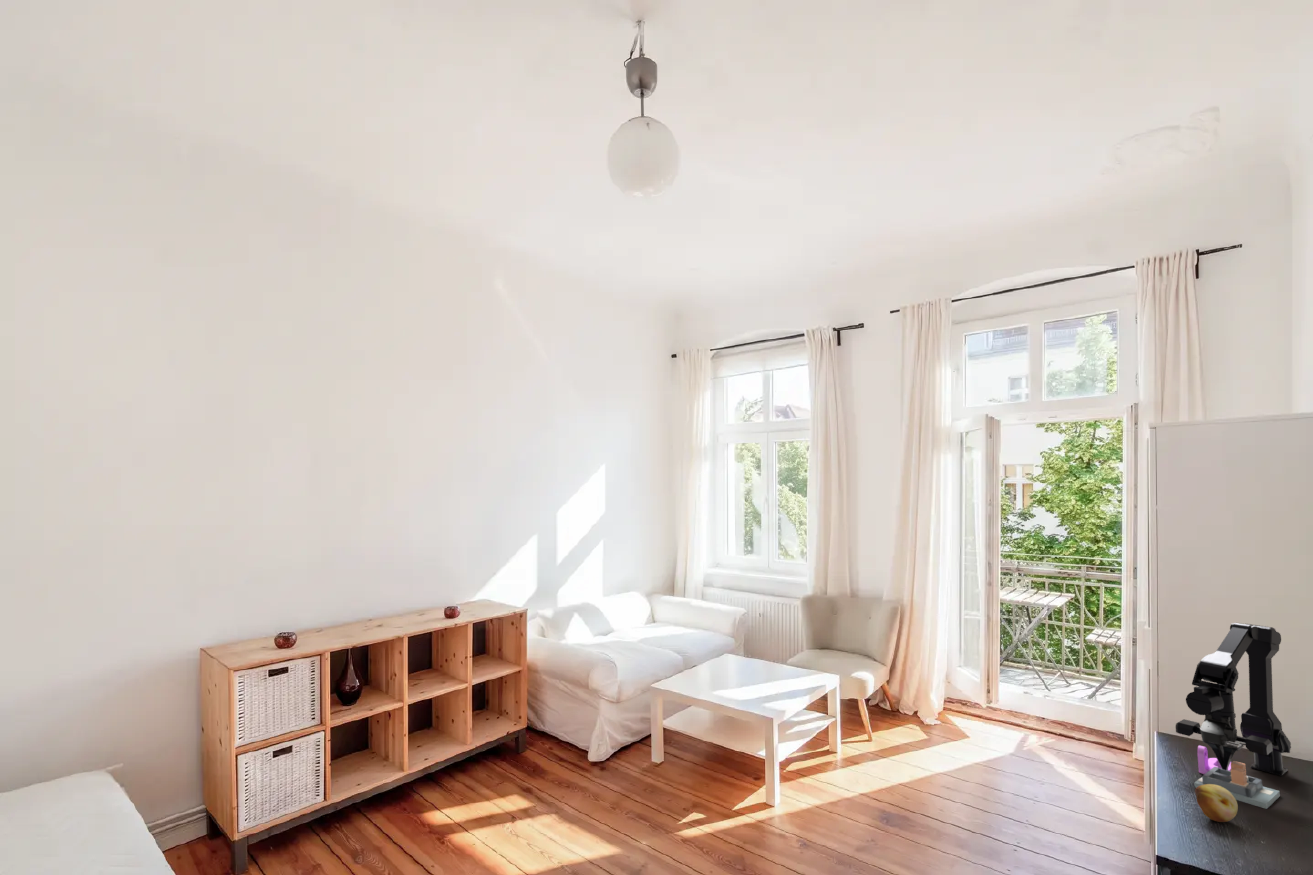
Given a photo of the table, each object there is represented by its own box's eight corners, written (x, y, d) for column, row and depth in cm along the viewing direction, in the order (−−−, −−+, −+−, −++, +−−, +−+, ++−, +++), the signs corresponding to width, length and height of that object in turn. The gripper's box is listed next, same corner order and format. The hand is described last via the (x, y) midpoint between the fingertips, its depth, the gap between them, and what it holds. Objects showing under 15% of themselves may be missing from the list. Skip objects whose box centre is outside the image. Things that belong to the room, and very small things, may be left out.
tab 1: (1233, 779, 167) (1232, 759, 168) (1249, 783, 165) (1247, 763, 165) (1230, 782, 165) (1228, 762, 166) (1245, 786, 163) (1243, 766, 163)
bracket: (1225, 780, 170) (1223, 753, 171) (1198, 772, 175) (1196, 747, 175) (1236, 767, 178) (1234, 742, 179) (1211, 761, 183) (1209, 736, 183)
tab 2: (1234, 786, 163) (1232, 766, 164) (1249, 790, 161) (1247, 770, 161) (1230, 789, 162) (1228, 768, 162) (1245, 793, 159) (1244, 773, 160)
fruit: (1199, 823, 148) (1196, 787, 149) (1194, 808, 155) (1192, 774, 155) (1242, 832, 143) (1239, 796, 144) (1236, 817, 150) (1233, 782, 151)
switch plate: (1209, 775, 173) (1208, 763, 173) (1279, 795, 161) (1278, 782, 161) (1194, 787, 166) (1193, 774, 166) (1266, 808, 154) (1265, 795, 155)
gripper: (1166, 705, 172) (1170, 764, 171) (1257, 725, 157) (1263, 791, 155) (1181, 697, 178) (1185, 754, 177) (1270, 716, 163) (1276, 779, 161)
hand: (1224, 769), depth 168 cm, fingers closed
